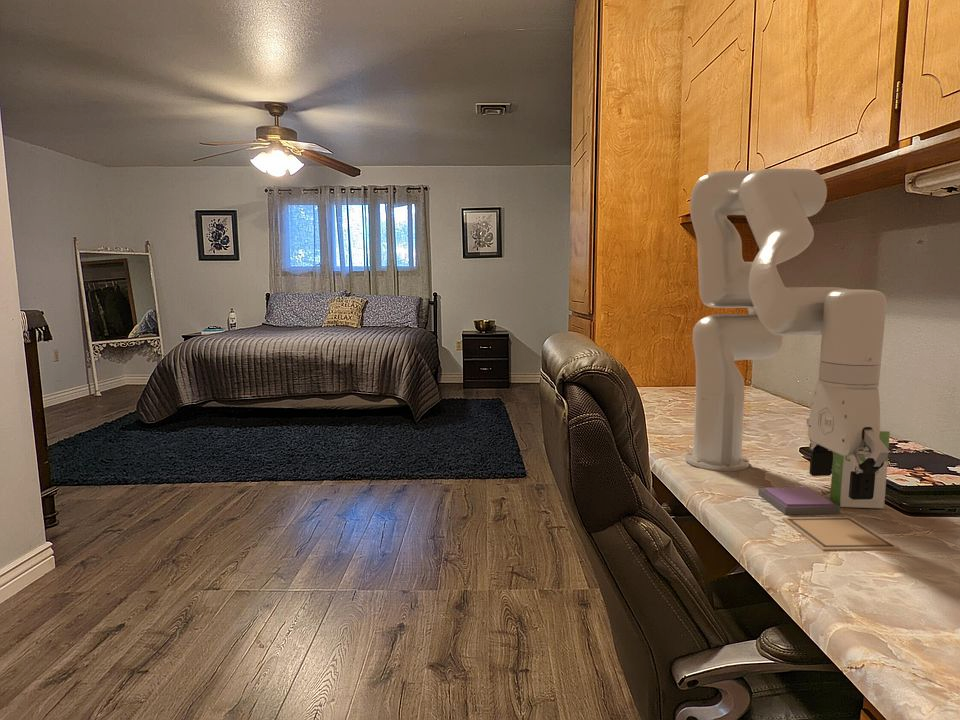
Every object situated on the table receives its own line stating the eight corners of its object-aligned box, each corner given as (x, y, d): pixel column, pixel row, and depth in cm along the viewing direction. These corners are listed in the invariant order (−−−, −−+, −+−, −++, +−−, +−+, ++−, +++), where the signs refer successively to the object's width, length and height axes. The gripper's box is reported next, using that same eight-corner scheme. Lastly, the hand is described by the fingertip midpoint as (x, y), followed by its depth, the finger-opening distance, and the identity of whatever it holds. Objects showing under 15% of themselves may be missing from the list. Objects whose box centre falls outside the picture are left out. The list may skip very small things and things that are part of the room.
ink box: (872, 501, 100) (878, 426, 98) (884, 510, 96) (891, 431, 95) (829, 499, 101) (834, 424, 99) (839, 508, 97) (845, 430, 96)
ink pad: (758, 494, 104) (758, 486, 104) (808, 493, 104) (808, 486, 104) (784, 514, 95) (785, 505, 95) (839, 513, 95) (840, 505, 95)
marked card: (782, 519, 93) (782, 517, 93) (850, 518, 93) (850, 516, 93) (822, 550, 82) (823, 548, 82) (899, 549, 82) (900, 547, 82)
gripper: (791, 365, 93) (784, 467, 95) (862, 385, 76) (851, 509, 78) (837, 365, 93) (829, 467, 95) (919, 385, 76) (906, 509, 78)
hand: (839, 486), depth 87 cm, fingers open, 9 cm apart
